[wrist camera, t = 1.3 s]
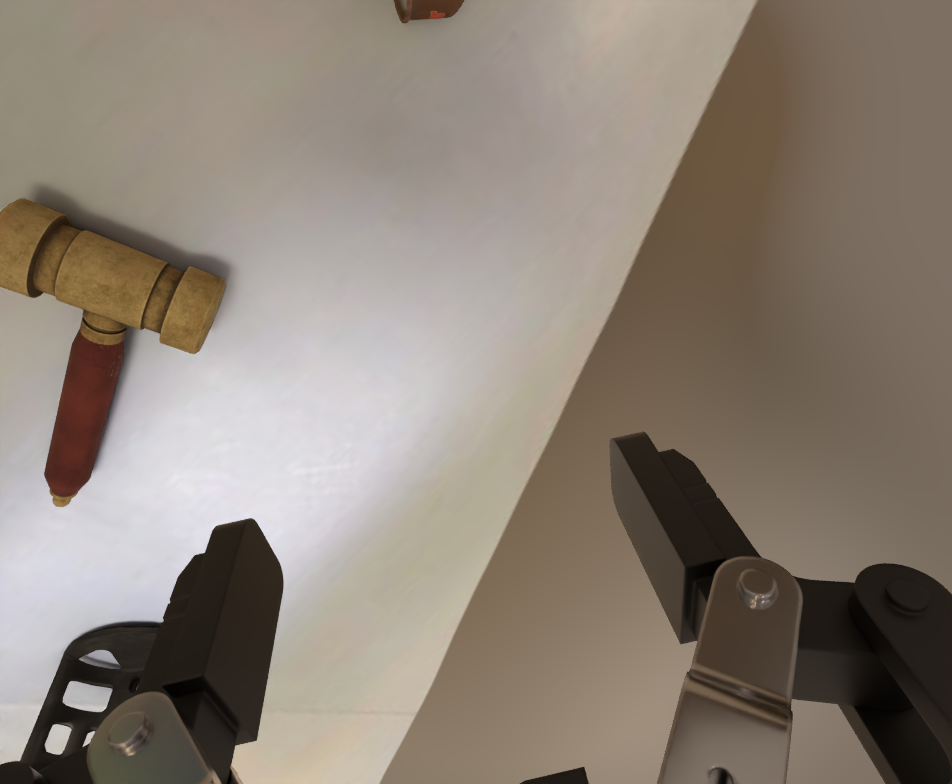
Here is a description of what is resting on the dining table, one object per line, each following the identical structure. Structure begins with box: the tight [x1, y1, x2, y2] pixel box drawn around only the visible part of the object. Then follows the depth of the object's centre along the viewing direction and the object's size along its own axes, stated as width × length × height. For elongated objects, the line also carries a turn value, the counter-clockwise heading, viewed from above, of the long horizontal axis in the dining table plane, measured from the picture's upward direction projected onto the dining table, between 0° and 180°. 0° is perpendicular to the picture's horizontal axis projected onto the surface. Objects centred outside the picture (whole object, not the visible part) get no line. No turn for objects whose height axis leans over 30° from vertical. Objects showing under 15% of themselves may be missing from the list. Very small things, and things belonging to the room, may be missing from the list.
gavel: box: [0, 199, 226, 507], centre depth 34 cm, size 21×5×10 cm
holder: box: [20, 627, 159, 771], centre depth 42 cm, size 11×8×20 cm
